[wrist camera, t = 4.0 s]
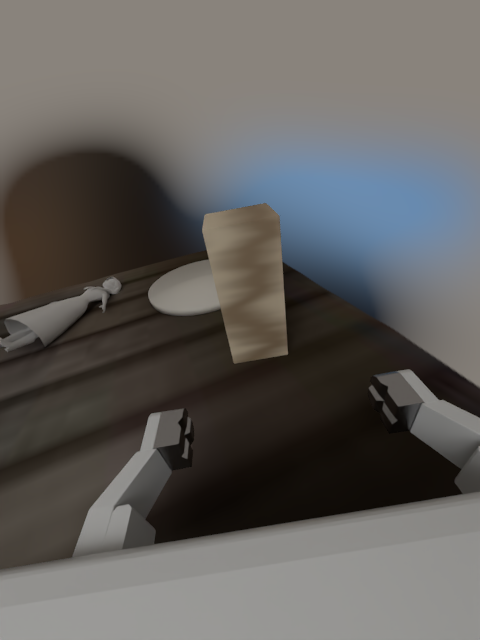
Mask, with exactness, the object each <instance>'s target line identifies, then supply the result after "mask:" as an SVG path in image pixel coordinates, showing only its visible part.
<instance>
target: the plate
mask: <svg viewBox="0 0 480 640" xmlns="http://www.w3.org/2000/svg"><path fill="white" fill-rule="evenodd" d="M148 297H149V300H150V302H151V305H152V306H153V308H154V309H156V310H157V311H159V312H161V313H164V314H167V315H173V316H192V315H200V314H205V313H210V312H213V311H217V310H220V309H221V307H220V303H219V299H218V295H217V291H216V286H215V282H214V278H213V274H212V270H211V265H210V261H209V260H204V261H199V262H195V263H191V264H188V265H185V266H182V267H179V268H177V269H175V270H172V271H170V272H169V273H167V274H165V275H163V276H162V277H160V278H159V279H158V280H157V281H156V282H154V284H153V285H152V286H151V287H150V289H149V292H148Z"/></svg>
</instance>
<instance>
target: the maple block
mask: <svg viewBox="0 0 480 640" xmlns="http://www.w3.org/2000/svg"><path fill="white" fill-rule="evenodd" d="M202 232H203V236H204V240H205V244H206V249H207V253H208V257H209V261H210V265H211V270H212V274H213V278H214V282H215V286H216V291H217V295H218V299H219V303H220V307H221V312H222V316H223V320H224V324H225V328H226V333H227V337H228V341H229V345H230V349H231V354H232V358H233V362H234V364H236V363H241V362H247V361H253V360H259V359H264V358H270V357H276V356H282V355H287V354H288V347H287V330H286V314H285V298H284V282H283V266H282V250H281V234H280V218H279V215H278V214H277V213H276V212H275V211H274V210H273V209H272V208H271V207H270V206H268V205H267V204H266V203H264V204H258V205H253V206H248V207H242V208H237V209H232V210H226V211H221V212H216V213H211V214H205V217H204V223H203V229H202Z"/></svg>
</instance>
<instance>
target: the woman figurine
mask: <svg viewBox="0 0 480 640" xmlns="http://www.w3.org/2000/svg"><path fill="white" fill-rule="evenodd" d="M103 287H104V288H101V287H86V288H84V289H88V288H89V289H88V290H87V291H86V292H84V294H82V295H81V296H78V297H73V298H69V299H66V300H62V301H59V302H52V303H51V304H48V305H46V306H43V307H40V308H37V309H34V310H31V311H28V312H25V313H22V314H19V315H16V316H13V317H10V318H7V319H5V321H4V324H5V326H6V328H7V330H8V332H9V333H10V334H11V335H10V336H8V337H6V338H4V339H2V338H1V337H0V348H2V347H6V349H5V350H6V351H7V352H9V351H12V350H15V349H17V348H19V347H22V346H25V345H27V344H30V343H33V342H34V341H35V339H36V338H38V337H40V339H41V341H42V343H43V344H44V348H45V347H46V346H47V345H48V344H50V343H51V342H52V341H53V340H55V339H56V338H57V337H59V336H60V335H61V334H62V333H64V332H65V331H66V330H67V329H68V328H69V327H70V326H71V325H72V324H74V323H75V322H76V321H77V320H78V319H79V318H80V317H81V316H82V315H83V314H84V313H85V311H86V309H87V306H88V304H89V303H91V302H95V301H100V300H102V303H103V305H101V306H99V307H101V308H102V310H103V313H104V312H105V309H106V303H107V299H108V298H109V297H110V295H109V294H116V293H118V292H119V291H120V290H121V283H120V282H119V280H117V279H116V278H114V277H109V278H108V279H106V280H105V282H104V283H103ZM84 289H83V290H84Z"/></svg>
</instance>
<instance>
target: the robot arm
mask: <svg viewBox="0 0 480 640" xmlns="http://www.w3.org/2000/svg"><path fill="white" fill-rule="evenodd" d="M370 382H371V384H372V385H371V386H370V387H369V389H368V397H369V401H370V403H371V405H372V407H373V409H374V410H375V411H377V412H379V413H380V414H381V415H380V420H381V422H382V423H383V425H384V426H385V428H386V429H387V431H388V433H389V434H390V433H397V432H404V431H410V432H411V433H412V434H414V435H415V436H416V437H418V438H419V439H421V440H422V441H423V442H425V443H426V444H427V445H429V446H430V447H431V448H433V449H434V450H436V451H437V452H438V453H440V454H441V455H442V456H444V457H445V458H447V459H448V460H449V461H451V462H452V463H453V464H455V465H456V466H458V467H459V468H460V469H461V471H460V472H459V474H458V475H457V476H456V478H455V481H454V482H455V484H456V485H457V486H458V488H459V489H460V491H461V492H462V493H463V494H461V495H455V496H449V497H443V498H436V499H430V500H424V501H418V502H412V503H406V504H399V505H393V506H387V507H381V508H375V509H369V510H363V511H356V512H350V513H344V514H338V515H332V516H326V517H319V518H313V519H307V520H301V521H295V522H289V523H282V524H276V525H270V526H264V527H258V528H252V529H246V530H239V531H233V532H227V533H221V534H215V535H209V536H203V537H196V538H190V539H184V540H178V541H172V542H166V543H159V544H154V540H155V533H156V530H155V529H154V527H153V526H152V525H150V524H149V523H148V522H147V521H146V520H145V519H146V517H147V515H148V514H149V512H150V510H151V508H152V507H153V505H154V503H155V501H156V500H157V498H158V496H159V494H160V493H161V491H162V489H163V487H164V486H165V484H166V482H167V480H168V479H169V477H170V475H171V473H172V471H173V470H178V469H183V468H188V467H192V457H193V450H192V448H191V446H190V445H191V444H192V442H193V441H194V426H193V422H192V420H191V419H190V418H188V411H187V410H186V408H185V409H178V410H171V411H164V412H158V413H152V414H150V416H149V418H148V422H147V426H146V430H145V434H144V437H143V441H142V445H141V449H140V451H139V452H136V453H135V454H134V456H133V457H132V458H131V459H130V460H129V462H128V463H127V464H126V465H125V467H124V468H123V469H122V470H121V471H120V473H119V474H118V475H117V476H116V478H115V479H114V480H113V481H112V482H111V484H110V485H109V486H108V487H107V488H106V490H105V491H104V492H103V493H102V495H101V496H100V497H99V498H98V499H97V501H96V502H95V503H94V504H93V506H92V507H91V508H90V509H89V512H88V514H87V517H86V520H85V523H84V526H83V528H82V531H81V534H80V537H79V539H78V542H77V545H76V548H75V551H74V553H73V556H72V558H67V559H61V560H55V561H49V562H43V563H37V564H31V565H25V566H19V567H13V568H7V569H0V640H480V418H479V417H477V416H475V415H473V414H471V413H469V412H466V411H464V410H462V409H460V408H458V407H456V406H454V405H452V404H450V403H448V402H446V401H444V400H438V399H437V398H436V397H435V395H434V394H433V393H432V392H431V391H430V390H429V389H428V388H427V387H426V386H425V385H424V384H423V382H422V381H421V380H420V379H419V378H418V377H417V376H416V375H415V374H414V373H413V372H412V371H411V370H409V369H407V370H401V371H396V372H395V371H394V372H389V373H383V374H378V375H373V376H372V377H371V379H370Z"/></svg>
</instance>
